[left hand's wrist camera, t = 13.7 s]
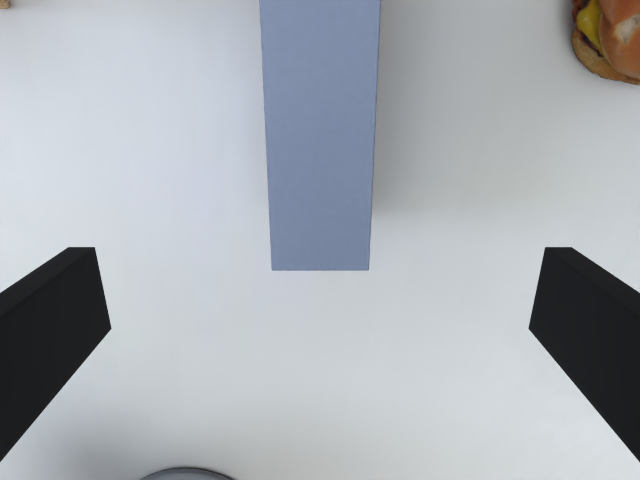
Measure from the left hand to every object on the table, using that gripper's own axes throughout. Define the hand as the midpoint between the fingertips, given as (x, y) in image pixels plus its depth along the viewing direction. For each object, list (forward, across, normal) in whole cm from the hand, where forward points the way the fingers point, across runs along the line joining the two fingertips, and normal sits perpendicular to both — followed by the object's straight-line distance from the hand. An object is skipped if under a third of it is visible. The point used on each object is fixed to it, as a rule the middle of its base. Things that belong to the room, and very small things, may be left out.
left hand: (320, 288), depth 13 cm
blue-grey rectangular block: (+21, 0, -4) cm, 21 cm away
